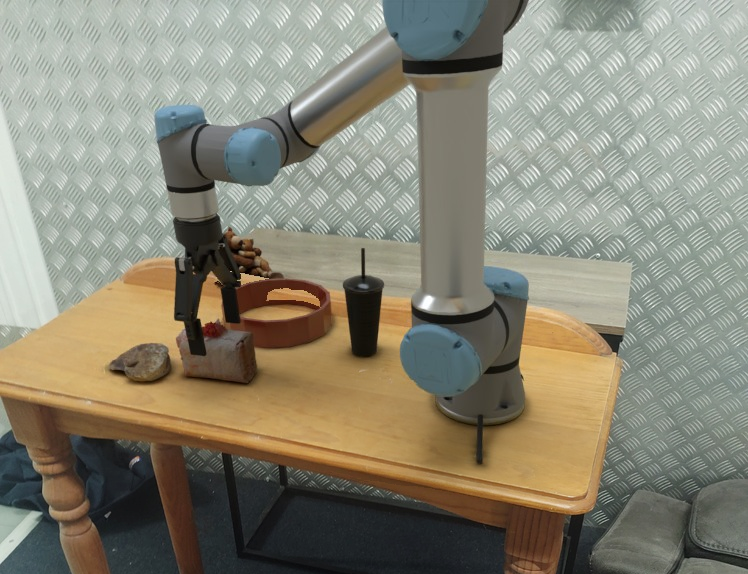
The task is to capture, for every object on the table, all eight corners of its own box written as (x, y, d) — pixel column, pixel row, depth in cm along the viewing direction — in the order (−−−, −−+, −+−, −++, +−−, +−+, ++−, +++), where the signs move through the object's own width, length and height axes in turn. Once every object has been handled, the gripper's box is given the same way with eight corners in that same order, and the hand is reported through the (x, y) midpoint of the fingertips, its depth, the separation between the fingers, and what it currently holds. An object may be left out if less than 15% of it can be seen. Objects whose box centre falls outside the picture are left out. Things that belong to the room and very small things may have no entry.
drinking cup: (379, 362, 135) (379, 257, 123) (340, 358, 137) (336, 254, 124) (387, 344, 141) (388, 242, 129) (349, 341, 143) (346, 240, 130)
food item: (176, 379, 131) (166, 329, 125) (196, 359, 137) (187, 310, 131) (246, 388, 128) (239, 337, 122) (262, 367, 134) (257, 318, 128)
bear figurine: (254, 297, 160) (248, 242, 153) (205, 284, 166) (196, 230, 159) (291, 278, 169) (287, 225, 162) (243, 265, 175) (237, 214, 168)
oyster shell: (147, 351, 140) (141, 327, 137) (185, 371, 133) (180, 346, 130) (103, 368, 134) (97, 344, 131) (141, 390, 128) (135, 365, 125)
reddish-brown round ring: (309, 353, 138) (307, 327, 135) (206, 339, 143) (202, 314, 140) (345, 309, 155) (344, 284, 151) (252, 297, 160) (249, 273, 156)
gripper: (210, 193, 125) (228, 308, 138) (133, 238, 106) (162, 366, 119) (249, 195, 123) (264, 312, 136) (178, 241, 104) (202, 372, 117)
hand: (216, 338), depth 128 cm, fingers open, 13 cm apart
